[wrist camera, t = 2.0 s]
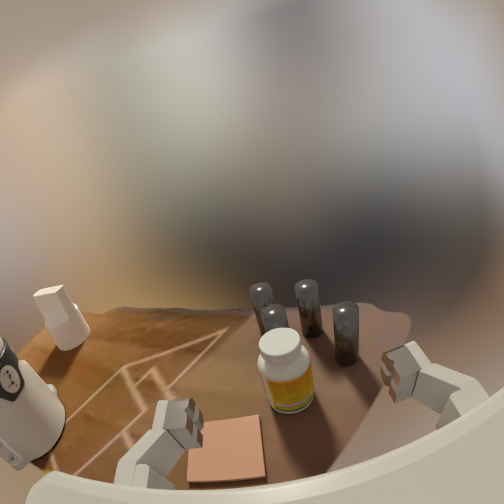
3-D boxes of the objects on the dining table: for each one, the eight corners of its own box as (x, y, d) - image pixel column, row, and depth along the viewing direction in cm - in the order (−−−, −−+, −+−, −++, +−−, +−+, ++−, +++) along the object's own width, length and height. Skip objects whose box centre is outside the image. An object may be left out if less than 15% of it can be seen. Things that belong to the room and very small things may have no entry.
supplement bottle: (260, 397, 31) (240, 341, 27) (294, 373, 33) (283, 315, 29) (288, 423, 26) (273, 369, 23) (324, 396, 29) (318, 337, 25)
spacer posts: (268, 386, 32) (254, 340, 29) (260, 328, 43) (248, 285, 40) (361, 361, 32) (362, 313, 29) (334, 309, 43) (330, 265, 40)
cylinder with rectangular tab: (96, 324, 54) (71, 277, 49) (78, 350, 46) (48, 300, 41) (70, 326, 55) (46, 282, 50) (51, 350, 47) (24, 304, 42)
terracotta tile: (189, 482, 21) (186, 481, 21) (193, 425, 28) (191, 423, 28) (266, 477, 21) (265, 475, 20) (259, 417, 28) (258, 414, 28)
